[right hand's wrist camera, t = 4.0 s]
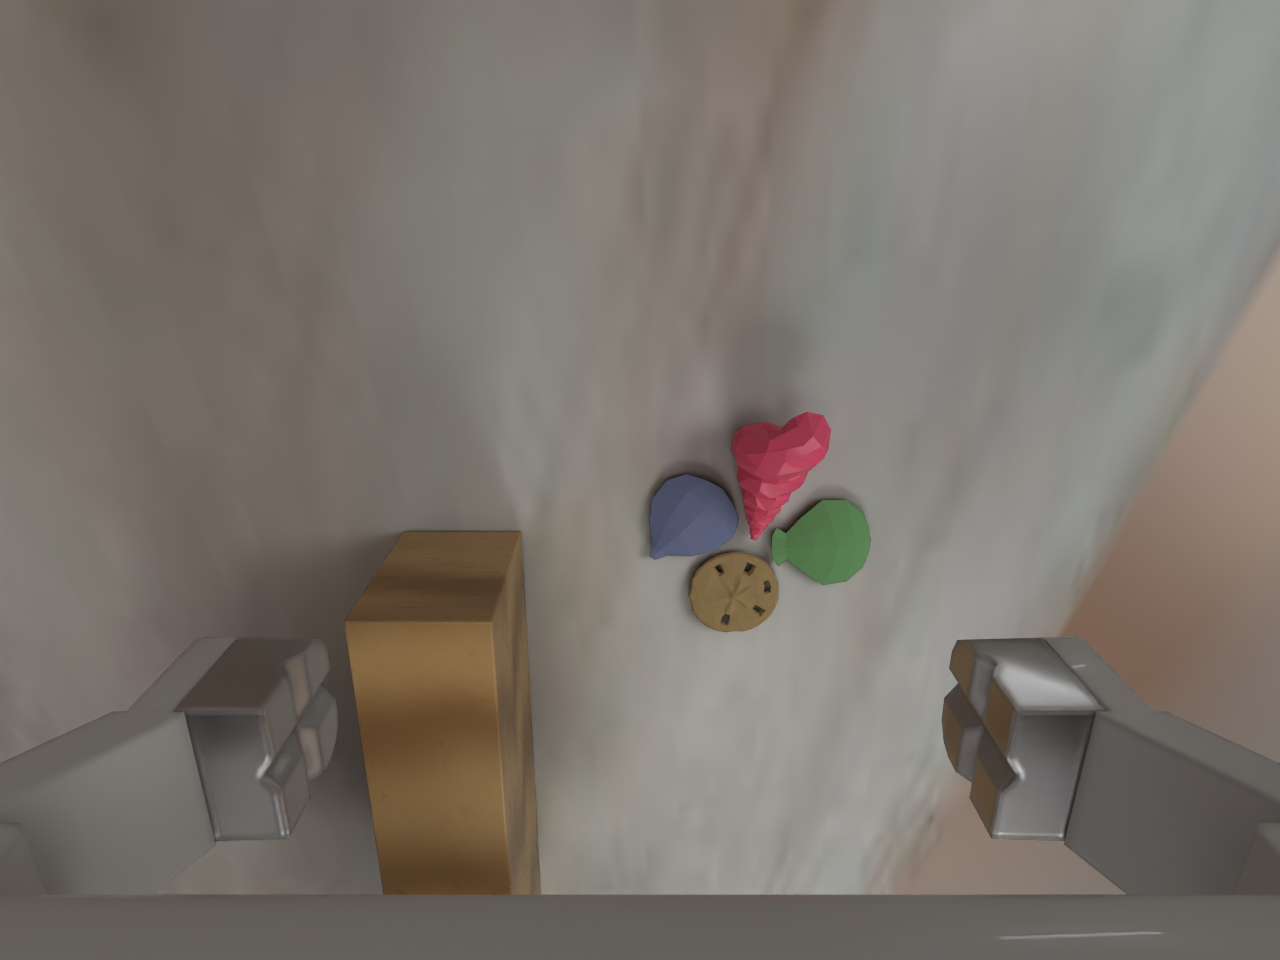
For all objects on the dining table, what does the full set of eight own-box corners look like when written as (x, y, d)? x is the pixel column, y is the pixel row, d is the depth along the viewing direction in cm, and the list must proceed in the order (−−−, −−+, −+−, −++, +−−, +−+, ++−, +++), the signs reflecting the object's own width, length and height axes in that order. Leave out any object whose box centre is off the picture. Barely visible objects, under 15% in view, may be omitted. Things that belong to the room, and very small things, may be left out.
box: (403, 530, 41) (342, 621, 33) (521, 530, 41) (491, 621, 33) (446, 922, 51) (408, 1070, 43) (542, 922, 51) (523, 1070, 43)
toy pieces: (618, 440, 39) (615, 470, 35) (844, 385, 38) (868, 410, 34) (674, 644, 44) (678, 693, 39) (879, 599, 43) (905, 645, 38)
